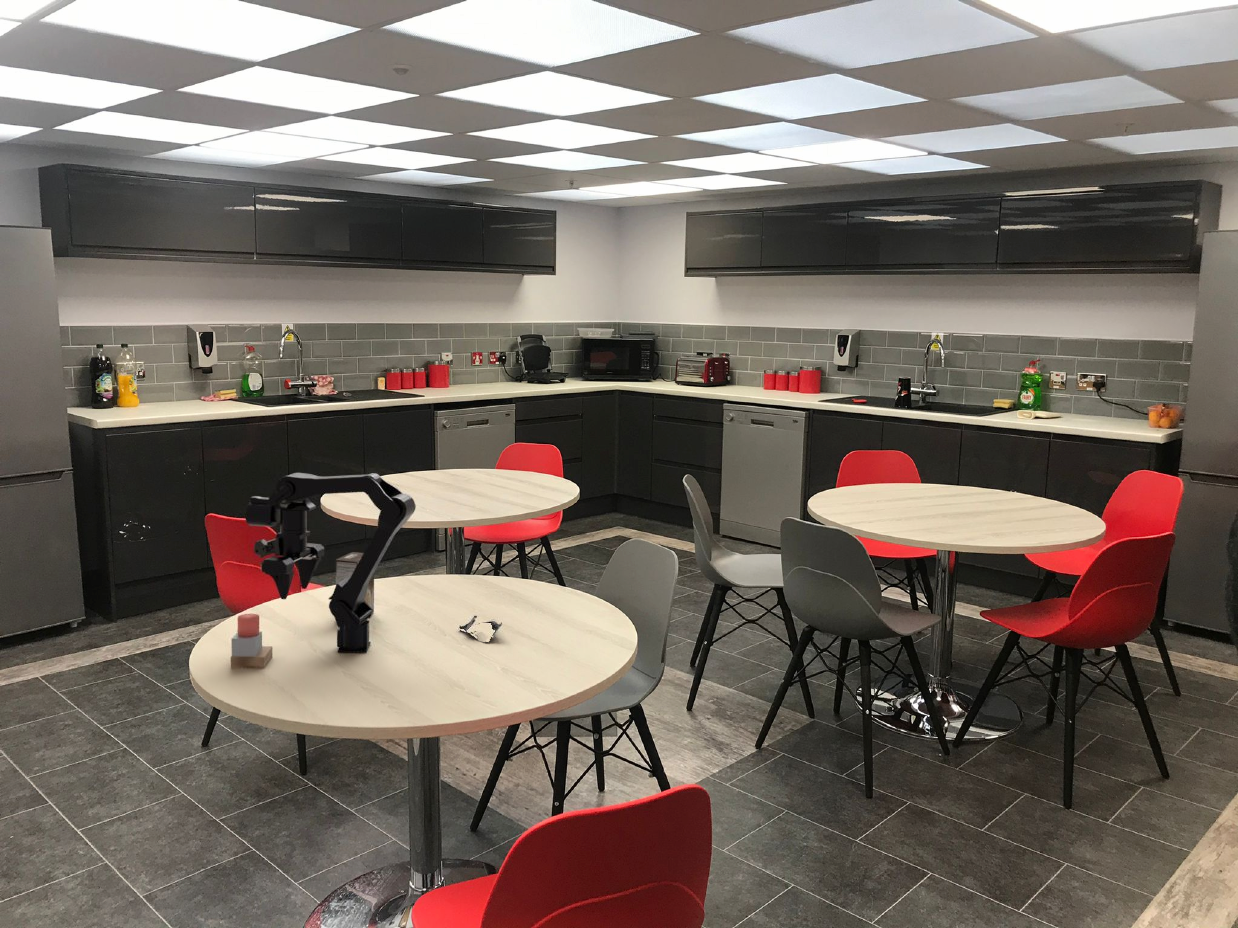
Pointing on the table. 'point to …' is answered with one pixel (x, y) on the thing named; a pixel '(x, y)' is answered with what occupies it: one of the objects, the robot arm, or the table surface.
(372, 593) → the coffee box
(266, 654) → the walnut slab
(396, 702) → the table surface
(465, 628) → the snack package
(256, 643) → the grey block
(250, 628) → the red cylinder
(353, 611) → the robot arm
